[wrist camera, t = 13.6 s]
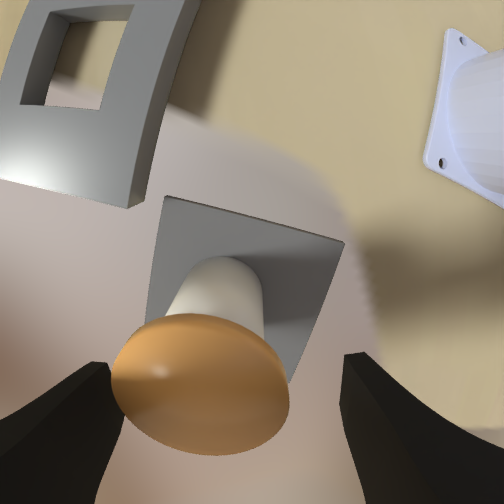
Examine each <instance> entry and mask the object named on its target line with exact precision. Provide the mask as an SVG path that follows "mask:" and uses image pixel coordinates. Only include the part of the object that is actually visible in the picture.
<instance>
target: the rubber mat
mask: <svg viewBox="0 0 504 504" xmlns="http://www.w3.org/2000/svg"><path fill="white" fill-rule="evenodd" d="M344 245H345V243H343V241H339V240H335V239H332V238H329V237H325V236H322V235H318V234H315V233H311V232H307V231H304V230H300V229H297V228H293V227H289V226H286V225H282V224H278V223H275V222H271V221H267V220H263V219H260V218H256V217H252V216H248V215H244V214H241V213H237V212H233V211H229V210H225V209H220V208H217V207H213V206H209V205H205V204H201V203H197V202H193V201H189V200H184V199H181V198H177V197H172V196H168V195H167V196H165V197H164V201H163V207H162V212H161V217H160V222H159V228H158V233H157V239H156V245H155V251H154V257H153V263H152V270H151V277H150V284H149V291H148V300H147V307H146V316H145V324H146V323H148V322H150V321H152V320H154V319H157V318H160V317H164V316H165V315H166V313H167V311H168V310H169V308H170V306H171V304H172V302H173V300H174V298H175V297H176V295H177V293H178V291H179V289H180V288H181V286H182V284H183V282H184V280H185V278H186V277H187V275H188V273H189V272H190V270H191V269H192V268H193V267H194V266H195V265H196V264H198V263H199V262H201V261H203V260H205V259H208V258H211V257H218V256H224V257H231V258H234V259H237V260H239V261H242V262H243V263H245V264H246V265H248V266H249V267H250V268H251V269H252V270H253V271H254V272H255V274H256V275H257V277H258V278H259V280H260V283H261V286H262V294H263V322H264V341H265V342H267V343H268V344H269V345H270V346H271V347H272V349H273V350H274V351H275V352H276V353H277V355H278V357H279V358H280V360H281V362H282V364H283V366H284V369H285V372H286V377H287V383H290V381H291V378H292V376H293V374H294V372H295V370H296V367H297V365H298V363H299V360H300V358H301V356H302V354H303V351H304V349H305V347H306V344H307V342H308V339H309V337H310V335H311V332H312V330H313V327H314V325H315V322H316V320H317V318H318V315H319V313H320V310H321V307H322V305H323V302H324V300H325V297H326V295H327V292H328V289H329V286H330V284H331V281H332V279H333V276H334V273H335V271H336V268H337V265H338V262H339V259H340V257H341V254H342V251H343V248H344Z"/></svg>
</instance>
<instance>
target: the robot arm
mask: <svg viewBox="0 0 504 504" xmlns="http://www.w3.org/2000/svg"><path fill="white" fill-rule="evenodd" d="M460 40H461V41H462V43H463V45H462V44H461V42H460ZM440 159H442V161H443V166H442V168H440V166H439V160H440ZM423 163H424V165H425V167H426V168H428V169H429V170H431V171H434V172H436V173H438V174H440V175H442V176H444V177H446V178H448V179H450V180H452V181H454V182H456V183H458V184H460V185H461V186H463V187H465V188H467V189H469V190H471V191H473V192H474V193H476V194H478V195H480V196H482V197H483V198H485V199H487V200H489V201H490V202H492V203H494V204H496V205H497V206H499V207H501V208H502V209H504V49H500V50H497V51H494V52H491V53H489V52H488V51H486V50H485V49H484V48H482V47H481V46H479V45H478V44H477V43H475V42H474V41H472V40H471V39H469V38H468V37H467V36H465V35H464V34H462V33H461V32H459V31H457V30H456V29H454V28H450V29H448V30H446V31H445V35H444V45H443V53H442V61H441V68H440V75H439V81H438V87H437V93H436V99H435V104H434V109H433V114H432V119H431V124H430V128H429V133H428V137H427V141H426V145H425V149H424V153H423ZM339 405H340V411H341V416H342V421H343V427H344V431H345V435H346V438H347V441H348V445H349V448H350V451H351V454H352V457H353V460H354V463H355V466H356V470H357V473H358V476H359V479H360V482H361V485H362V489H363V493H364V496H365V501H366V504H504V449H503V448H501V447H498V446H496V445H494V444H491V443H489V442H487V441H485V440H482V439H480V438H478V437H476V436H474V435H472V434H470V433H468V432H466V431H465V430H463V429H461V428H460V427H458V426H456V425H455V424H453V423H451V422H450V421H448V420H446V419H445V418H443V417H442V416H440V415H439V414H437V413H436V412H435V411H433V410H432V409H431V408H429V407H428V406H426V405H425V404H424V403H422V402H421V401H420V400H418V399H417V398H416V397H415V396H414V395H412V394H411V393H410V392H409V391H408V390H406V389H405V388H404V387H403V386H402V385H400V384H399V383H398V382H397V381H396V380H395V379H394V378H392V377H391V376H390V375H389V374H388V373H387V372H386V371H385V370H384V369H383V368H382V367H380V366H379V365H378V364H377V363H376V362H375V361H374V360H373V359H372V358H371V357H370V356H368V355H367V354H366V353H365V352H360V353H354V354H346V355H344V364H343V374H342V384H341V393H340V402H339ZM124 416H125V414H124V413H123V412H122V410H121V409H120V407H119V405H118V404H117V401H116V399H115V397H114V394H113V390H112V385H111V371H110V369H109V366H108V364H107V363H105V362H90V363H88V364H86V365H85V366H83V367H82V368H80V369H79V370H77V371H76V372H74V373H73V374H71V375H70V376H68V377H67V378H65V379H64V380H63V381H61V382H60V383H58V384H57V385H56V386H54V387H53V388H51V389H50V390H48V391H47V392H46V393H44V394H43V395H41V396H40V397H38V398H37V399H35V400H34V401H32V402H30V403H29V404H27V405H26V406H24V407H23V408H21V409H20V410H18V411H16V412H14V413H13V414H11V415H9V416H7V417H5V418H3V419H1V420H0V504H94V502H95V498H96V494H97V491H98V488H99V485H100V482H101V480H102V477H103V475H104V472H105V470H106V467H107V464H108V462H109V460H110V457H111V455H112V452H113V450H114V447H115V445H116V442H117V440H118V437H119V435H120V432H121V428H122V424H123V421H124Z"/></svg>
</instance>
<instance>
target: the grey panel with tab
mask: <svg viewBox="0 0 504 504" xmlns="http://www.w3.org/2000/svg"><path fill="white" fill-rule="evenodd" d="M201 1H202V0H30V1H29V3H28V5H27V7H26V9H25V12H24V14H23V16H22V19H21V21H20V24H19V26H18V29H17V31H16V34H15V37H14V39H13V42H12V45H11V48H10V51H9V54H8V57H7V60H6V63H5V66H4V70H3V73H2V77H1V80H0V179H4V180H9V181H13V182H17V183H21V184H26V185H30V186H34V187H38V188H42V189H47V190H51V191H55V192H59V193H64V194H67V195H72V196H76V197H80V198H84V199H89V200H92V201H96V202H101V203H105V204H109V205H113V206H117V207H121V208H125V209H128V208H130V207H132V206H135V205H137V204H139V203H141V202H144V199H145V195H146V189H147V184H148V179H149V174H150V170H151V164H152V161H153V156H154V151H155V147H156V143H157V139H158V135H159V131H160V127H161V123H162V119H163V115H164V112H165V108H166V104H167V101H168V97H169V94H170V90H171V87H172V83H173V80H174V77H175V74H176V70H177V67H178V64H179V61H180V58H181V55H182V52H183V49H184V46H185V43H186V40H187V37H188V35H189V32H190V29H191V26H192V24H193V21H194V18H195V16H196V13H197V11H198V8H199V6H200V3H201ZM90 21H128V22H127V25H126V28H125V30H124V33H123V35H122V38H121V41H120V44H119V47H118V49H117V52H116V55H115V58H114V61H113V64H112V67H111V71H110V74H109V77H108V81H107V84H106V87H105V91H104V95H103V98H102V102H101V106H100V110H91V109H80V108H70V107H57V106H44V104H45V99H46V95H47V92H48V88H49V84H50V81H51V77H52V74H53V70H54V67H55V64H56V61H57V58H58V55H59V52H60V49H61V46H62V43H63V40H64V38H65V35H66V32H67V30H68V27H69V25H70V23H76V22H90Z"/></svg>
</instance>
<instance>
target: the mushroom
mask: <svg viewBox="0 0 504 504" xmlns="http://www.w3.org/2000/svg"><path fill="white" fill-rule="evenodd" d="M111 385H112V390H113V394H114V397H115V399H116V401H117V404H118V405H119V407H120V409H121V410H122V412H123V413H124V414H125V415H126V417H127V418H128V419H129V420H130V421H131V422H132V423H133V424H134V425H135V426H136V427H137V428H138V429H139V430H141V431H142V432H143V433H145V434H146V435H148V436H149V437H151V438H152V439H154V440H156V441H158V442H160V443H162V444H164V445H166V446H169V447H171V448H174V449H177V450H180V451H184V452H188V453H193V454H199V455H215V456H218V455H230V454H237V453H241V452H245V451H248V450H250V449H254V448H256V447H258V446H260V445H262V444H263V443H265V442H267V441H268V440H270V439H271V438H272V437H273V436H274V435H275V434H277V432H278V431H279V430H280V429H281V427H282V426H283V424H284V423H285V421H286V418H287V416H288V411H289V392H288V383H287V377H286V372H285V369H284V366H283V364H282V362H281V360H280V358H279V357H278V355H277V353H276V352H275V351H274V350H273V349H272V347H271V346H270V345H269V344H268V343H267V342H265V341H264V322H263V294H262V286H261V283H260V280H259V278H258V277H257V275H256V274H255V272H254V271H253V270H252V269H251V268H250V267H249V266H248V265H246V264H245V263H243V262H242V261H239V260H237V259H234V258H231V257H224V256H218V257H211V258H208V259H205V260H203V261H201V262H199V263H198V264H196V265H195V266H194V267H193V268H192V269H191V270H190V272H189V273H188V275H187V277H186V278H185V280H184V282H183V284H182V286H181V288H180V289H179V291H178V293H177V295H176V297H175V298H174V300H173V302H172V304H171V306H170V308H169V310H168V311H167V313H166V315H165V316H164V317H160V318H157V319H154V320H152V321H150V322H148V323H146V324H145V325H143V326H142V327H140V328H139V329H138V330H136V331H135V332H134V333H133V334H132V335H131V337H130V338H129V339H128V341H127V342H126V344H125V346H124V347H123V349H122V350H121V352H120V354H119V355H118V357H117V358H116V361H115V363H114V365H113V368H112V372H111Z"/></svg>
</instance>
